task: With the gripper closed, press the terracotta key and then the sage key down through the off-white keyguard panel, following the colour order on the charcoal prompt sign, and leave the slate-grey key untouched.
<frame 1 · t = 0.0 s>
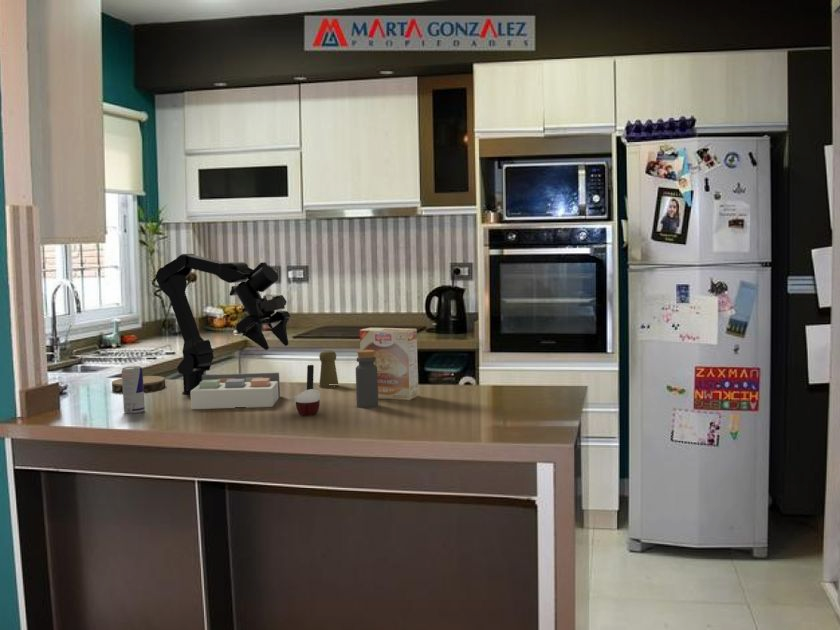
hand: (277, 347, 237), 15 cm above the countertop, tool tilted 35°, fingers open, 9 cm apart
bottle: (367, 406, 225), on the countertop
keypad housing: (236, 403, 233), on the countertop
terracotta key: (260, 386, 233), point 5 cm above the countertop, slide at 0.0 cm
energy drink: (134, 412, 225), on the countertop
sage key: (210, 388, 232), point 5 cm above the countertop, slide at 0.0 cm
rounded body with stick: (308, 414, 217), on the countertop
wood slice: (139, 390, 262), on the countertop
slate key: (235, 387, 233), point 5 cm above the countertop, slide at 0.0 cm
cork: (328, 386, 258), on the countertop
coffeecake box: (390, 397, 237), on the countertop
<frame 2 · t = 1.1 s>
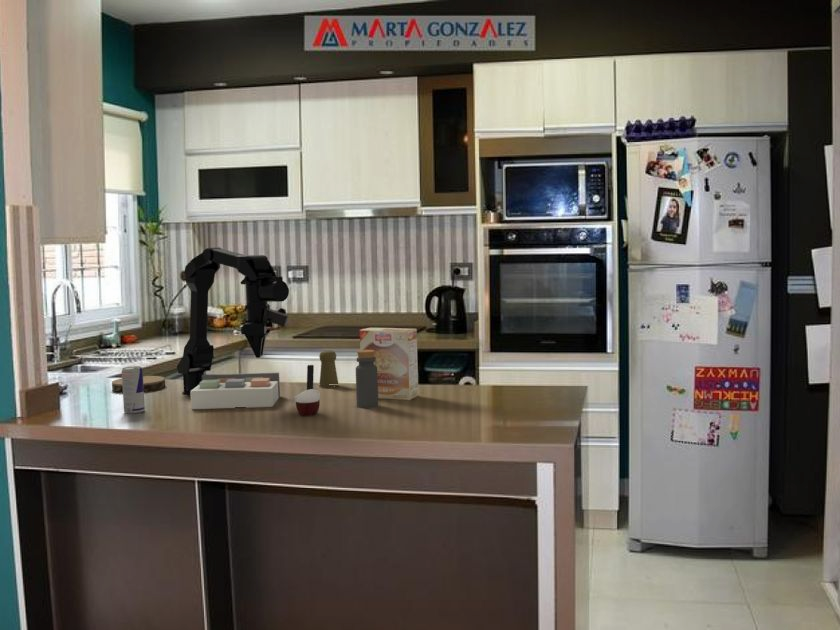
hand: (259, 356, 232), 13 cm above the countertop, tool pointing down, fingers open, 4 cm apart
nothing on the countertop moved.
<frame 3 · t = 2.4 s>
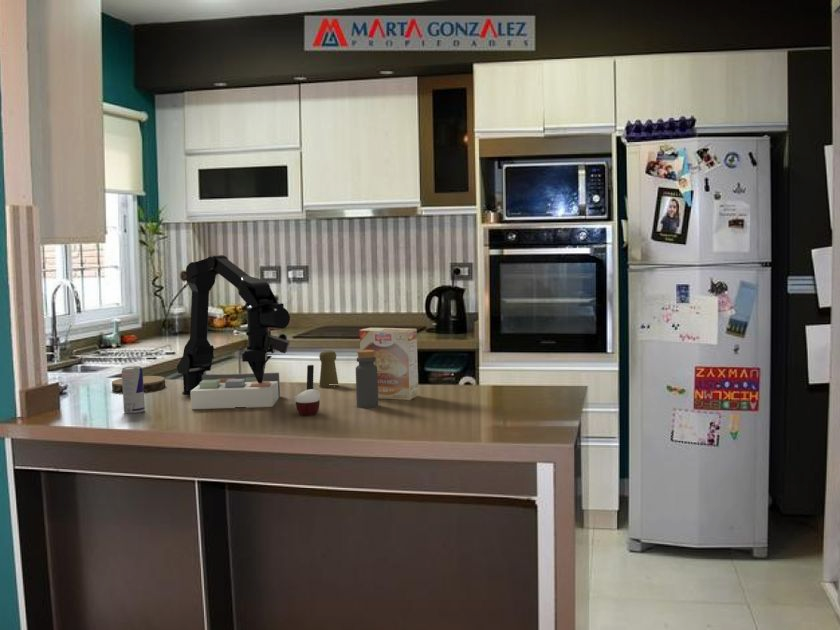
hand: (260, 382, 233), 6 cm above the countertop, tool pointing down, fingers closed, pressing on terracotta key
terracotta key: (260, 389, 233), point 4 cm above the countertop, slide at 0.9 cm, touching gripper
everything else where it was.
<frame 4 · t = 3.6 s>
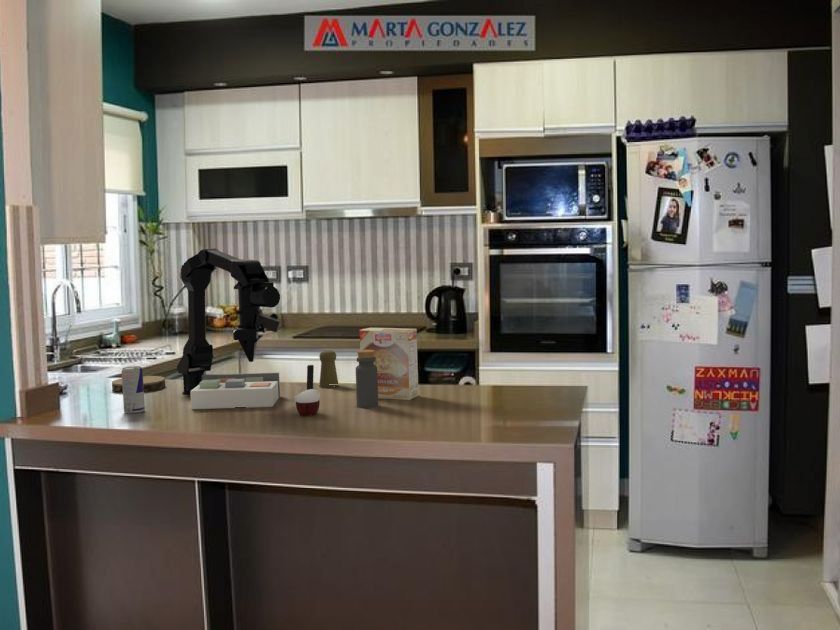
hand: (251, 361, 232), 12 cm above the countertop, tool pointing down, fingers closed
terracotta key: (260, 391, 233), point 3 cm above the countertop, slide at 1.3 cm
everything else where it was.
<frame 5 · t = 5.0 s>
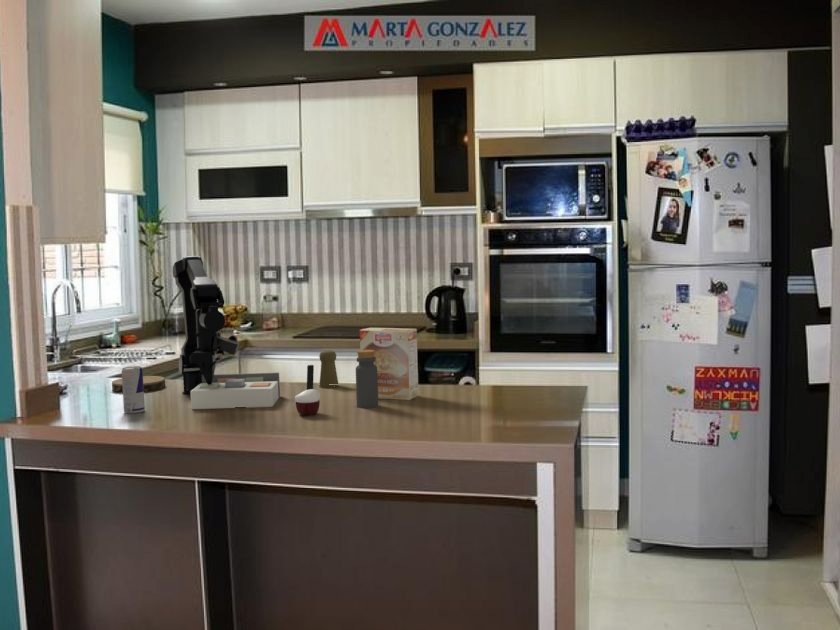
hand: (209, 384, 232), 6 cm above the countertop, tool pointing down, fingers closed, pressing on sage key
sage key: (210, 391, 233), point 4 cm above the countertop, slide at 0.9 cm, touching gripper
everything else where it was.
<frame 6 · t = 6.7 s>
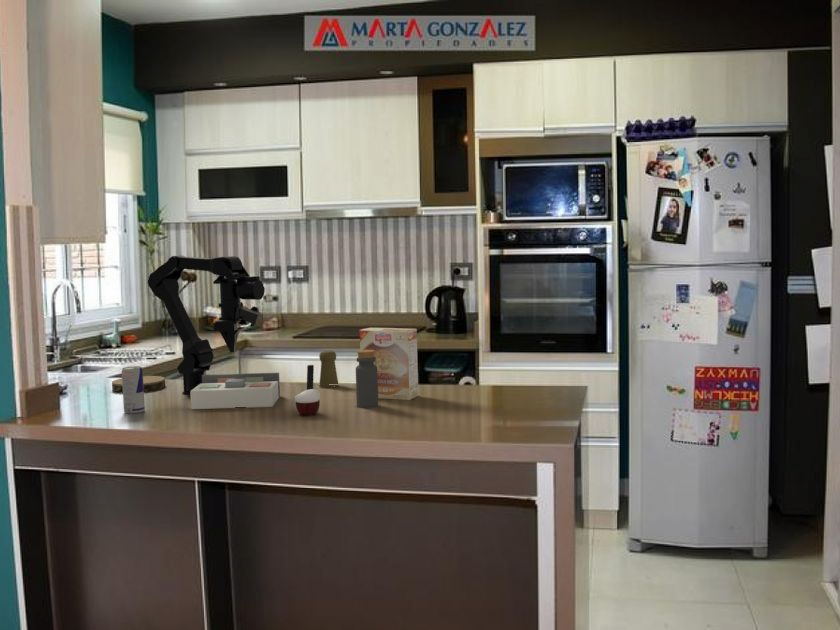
hand: (232, 352, 246), 13 cm above the countertop, tool pointing down, fingers closed
sage key: (210, 392, 233), point 3 cm above the countertop, slide at 1.3 cm
everything else where it was.
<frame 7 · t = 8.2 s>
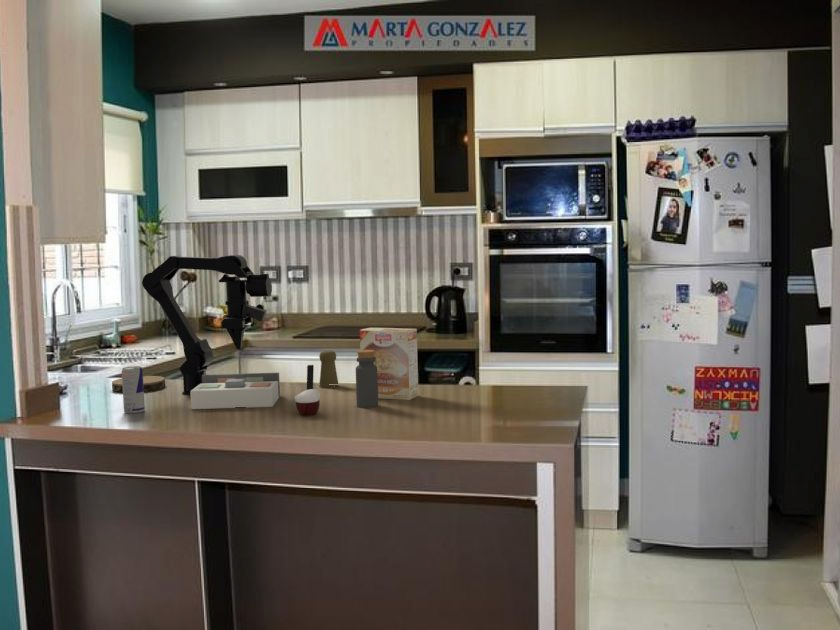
hand: (238, 349, 250), 13 cm above the countertop, tool pointing down, fingers closed
nothing on the countertop moved.
at the end: terracotta key slide at 1.3 cm; sage key slide at 1.3 cm; slate key slide at 0.0 cm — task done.
